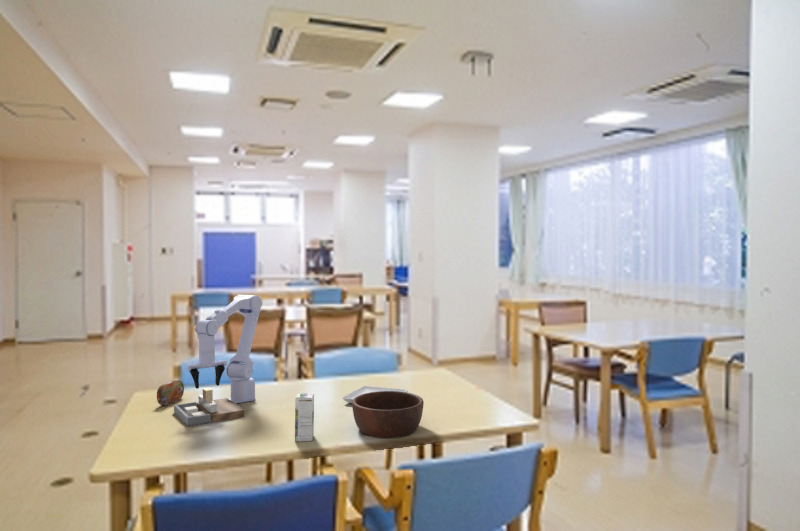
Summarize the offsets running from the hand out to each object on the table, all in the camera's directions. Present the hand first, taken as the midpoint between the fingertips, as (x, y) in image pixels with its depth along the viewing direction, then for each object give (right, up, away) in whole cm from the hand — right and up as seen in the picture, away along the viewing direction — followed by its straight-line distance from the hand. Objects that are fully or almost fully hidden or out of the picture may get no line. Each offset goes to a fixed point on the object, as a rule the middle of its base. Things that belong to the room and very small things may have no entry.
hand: (207, 386), depth 205 cm
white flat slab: (+1, -7, -2) cm, 8 cm away
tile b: (0, -10, -9) cm, 13 cm away
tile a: (-6, -10, -1) cm, 11 cm away
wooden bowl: (+70, -11, -18) cm, 73 cm away
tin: (-20, -10, +15) cm, 27 cm away
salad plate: (+64, -10, +18) cm, 67 cm away
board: (+5, -10, +1) cm, 11 cm away
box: (-4, -10, -6) cm, 12 cm away
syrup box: (+42, -11, -28) cm, 52 cm away
